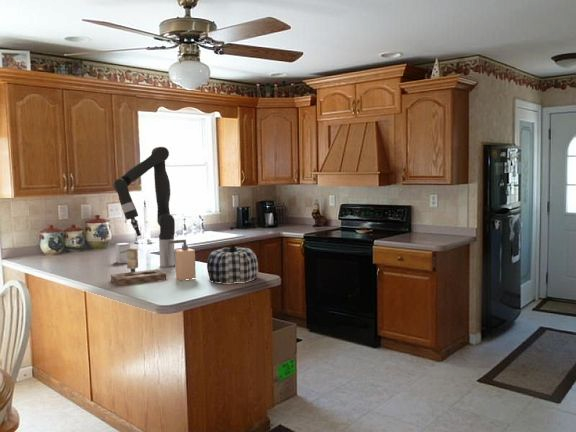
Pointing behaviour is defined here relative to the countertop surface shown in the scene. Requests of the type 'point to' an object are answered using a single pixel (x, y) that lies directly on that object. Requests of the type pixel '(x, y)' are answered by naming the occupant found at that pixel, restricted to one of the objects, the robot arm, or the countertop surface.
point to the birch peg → (132, 259)
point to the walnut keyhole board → (138, 277)
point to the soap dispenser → (184, 261)
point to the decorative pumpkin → (232, 265)
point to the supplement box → (122, 252)
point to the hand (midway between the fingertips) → (139, 235)
